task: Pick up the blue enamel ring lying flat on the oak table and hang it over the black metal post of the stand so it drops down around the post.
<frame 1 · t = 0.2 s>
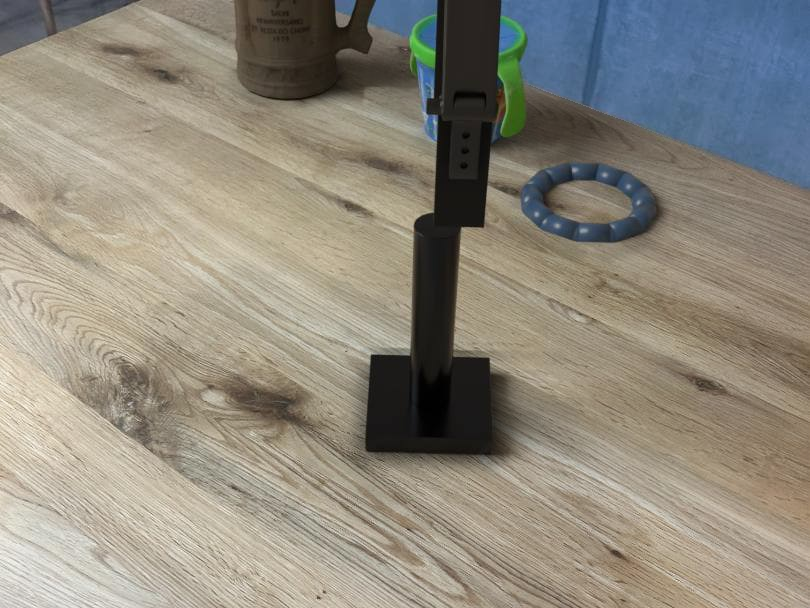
hand: (456, 158, 61), 21 cm above the table, tool pointing down, fingers open, 13 cm apart
post: (429, 410, 78), on the table
ring: (587, 203, 94), point 1 cm above the table
snack cup: (462, 139, 104), on the table
beer stein: (310, 78, 112), on the table
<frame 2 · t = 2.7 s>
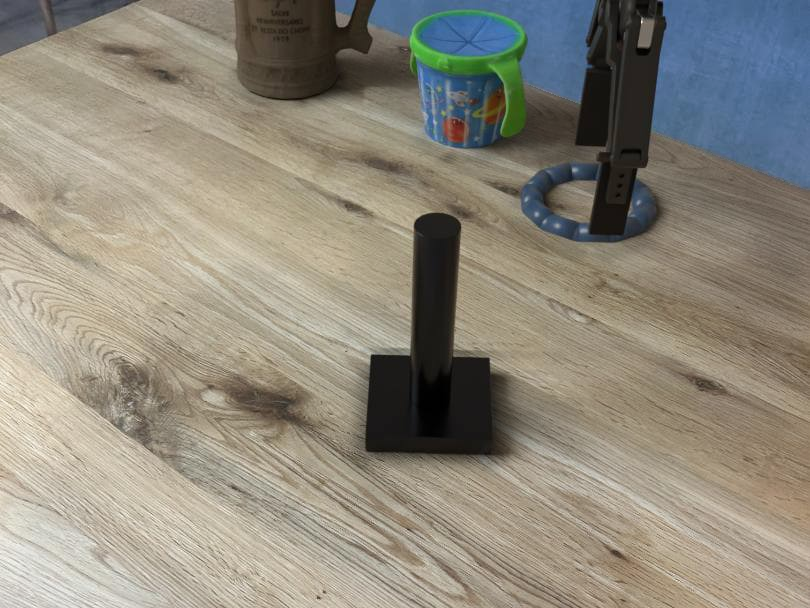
hand: (597, 186, 88), 6 cm above the table, tool pointing down, fingers open, 13 cm apart
nothing on the table moved.
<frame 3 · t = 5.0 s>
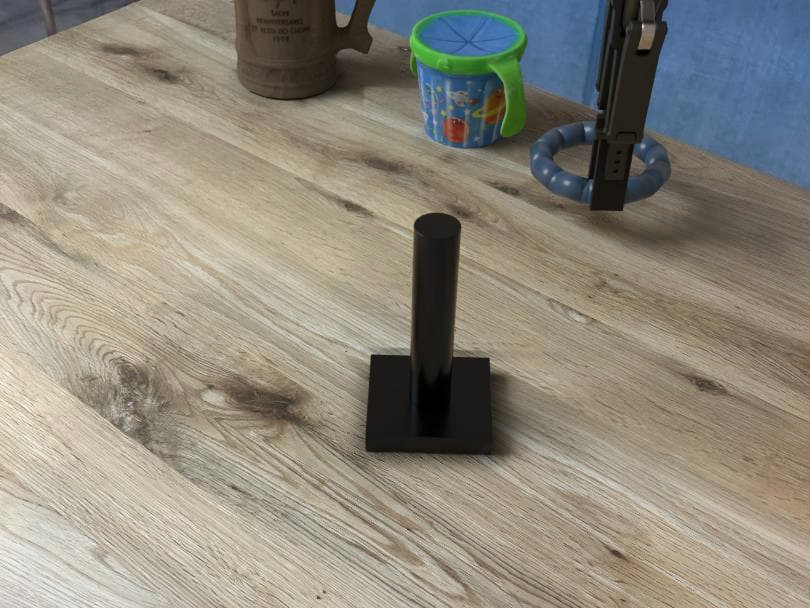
hand: (604, 198, 88), 5 cm above the table, tool pointing down, fingers closed on ring, 2 cm apart
ring: (599, 162, 91), point 5 cm above the table, touching gripper
everything else where it was.
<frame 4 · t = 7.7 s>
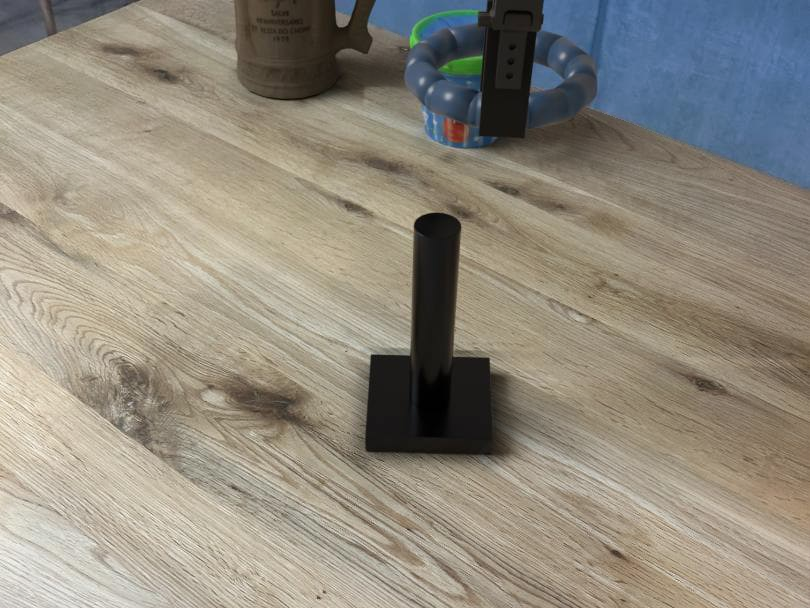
hand: (501, 121, 63), 21 cm above the table, tool pointing down, fingers closed on ring, 2 cm apart
ring: (501, 73, 66), point 22 cm above the table, touching gripper
everything else where it was.
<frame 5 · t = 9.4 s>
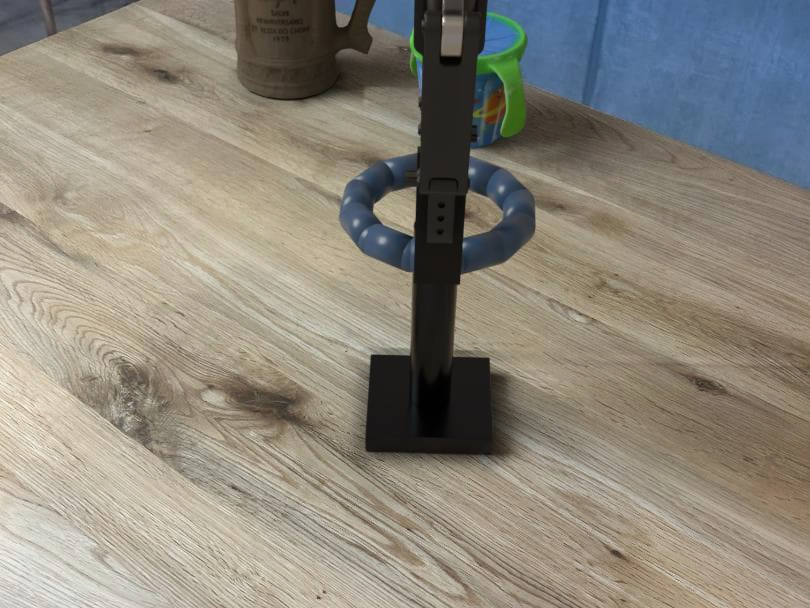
hand: (436, 264, 62), 16 cm above the table, tool pointing down, fingers closed on ring, 2 cm apart
ring: (438, 210, 65), point 17 cm above the table, touching gripper
everything else where it was.
when the fingers open (13 cm above the table, at t = 10.6 s): ring drops 11 cm, resting on post.
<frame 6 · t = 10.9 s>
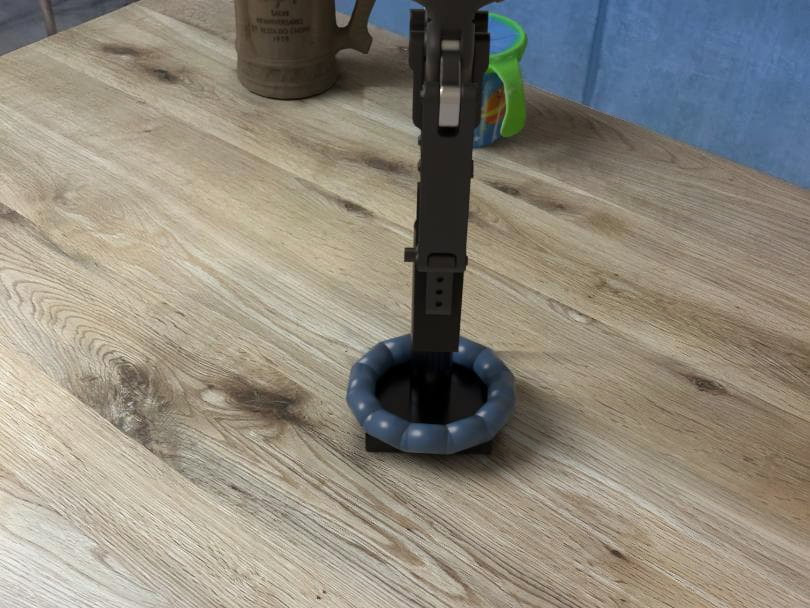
hand: (435, 311, 64), 13 cm above the table, tool pointing down, fingers open, 6 cm apart
ring: (431, 390, 75), point 2 cm above the table, touching post
everything else where it was.
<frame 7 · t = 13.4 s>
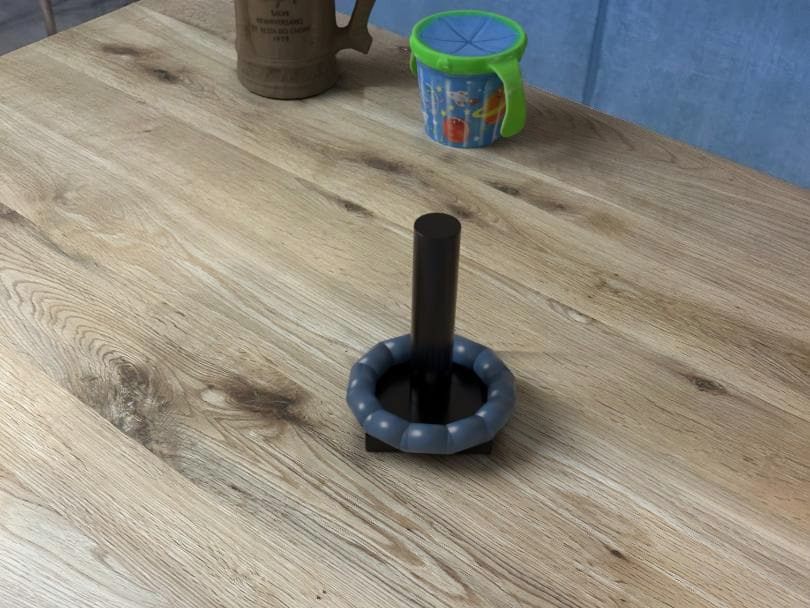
nothing on the table moved.
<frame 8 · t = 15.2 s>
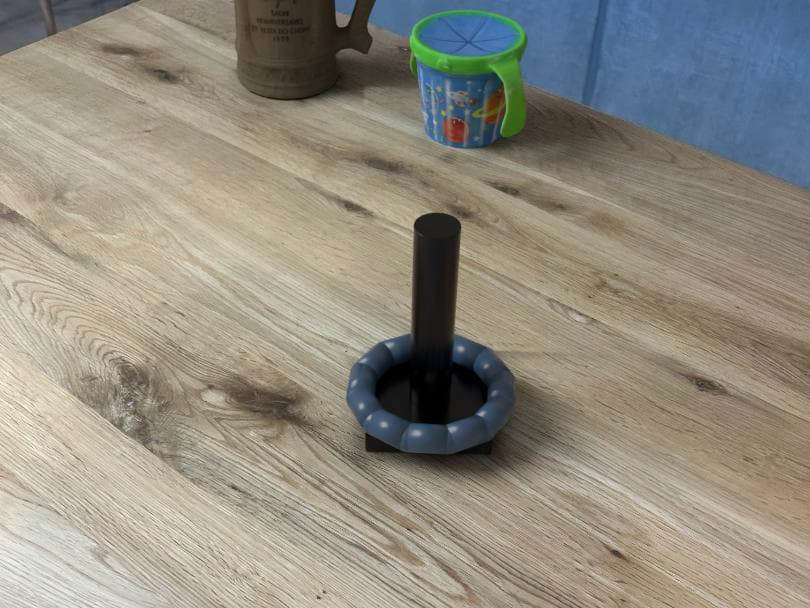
nothing on the table moved.
at the end: ring 0.6 cm from the post (horizontally); ring point 2.5 cm above the table; the gripper is holding nothing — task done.
